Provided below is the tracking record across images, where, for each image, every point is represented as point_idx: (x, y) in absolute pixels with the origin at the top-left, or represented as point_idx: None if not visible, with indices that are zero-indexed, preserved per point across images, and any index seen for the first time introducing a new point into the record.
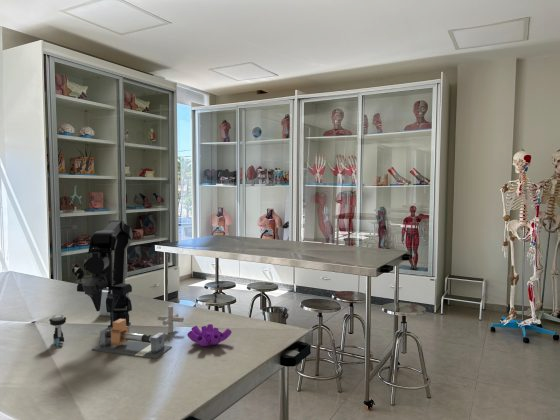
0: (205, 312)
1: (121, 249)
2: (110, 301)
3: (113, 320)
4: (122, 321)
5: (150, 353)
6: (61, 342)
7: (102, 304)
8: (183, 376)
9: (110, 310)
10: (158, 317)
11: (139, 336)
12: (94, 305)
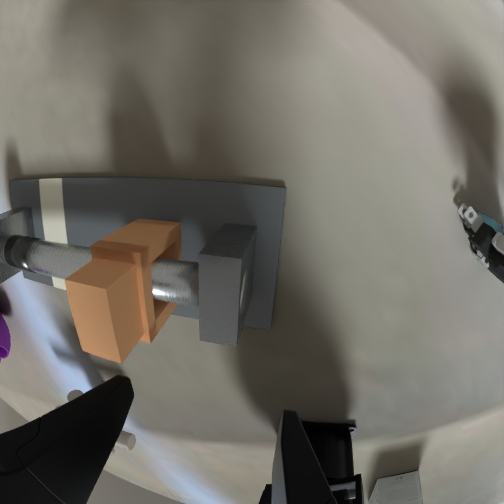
0: (141, 481)
1: None
2: (27, 442)
3: (332, 449)
4: (74, 316)
5: (32, 205)
6: (474, 228)
7: (413, 499)
8: None
9: (106, 387)
10: (124, 440)
11: (35, 250)
12: (315, 463)
